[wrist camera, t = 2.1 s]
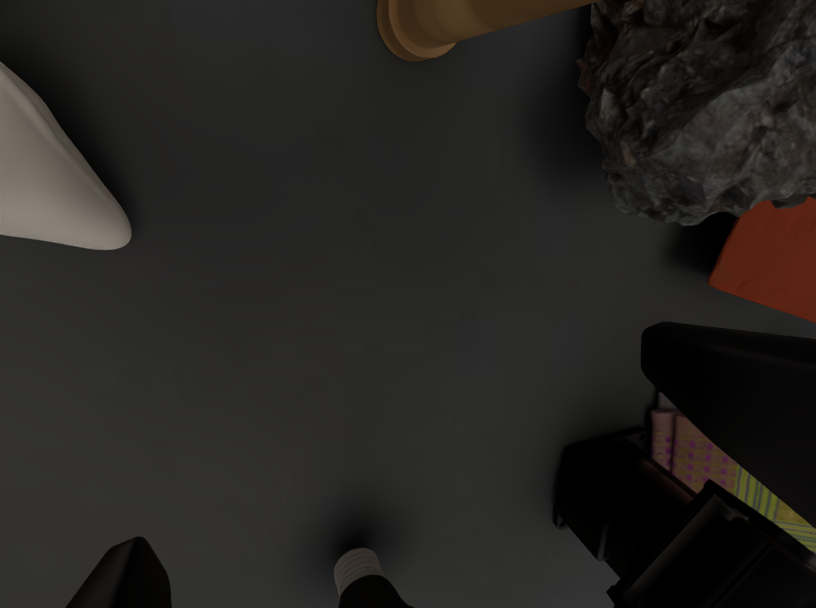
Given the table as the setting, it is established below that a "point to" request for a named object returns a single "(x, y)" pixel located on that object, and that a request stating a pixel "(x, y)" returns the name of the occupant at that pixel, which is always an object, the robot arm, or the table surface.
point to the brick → (772, 258)
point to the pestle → (454, 21)
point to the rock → (703, 104)
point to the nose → (50, 178)
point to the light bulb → (364, 582)
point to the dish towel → (716, 469)
